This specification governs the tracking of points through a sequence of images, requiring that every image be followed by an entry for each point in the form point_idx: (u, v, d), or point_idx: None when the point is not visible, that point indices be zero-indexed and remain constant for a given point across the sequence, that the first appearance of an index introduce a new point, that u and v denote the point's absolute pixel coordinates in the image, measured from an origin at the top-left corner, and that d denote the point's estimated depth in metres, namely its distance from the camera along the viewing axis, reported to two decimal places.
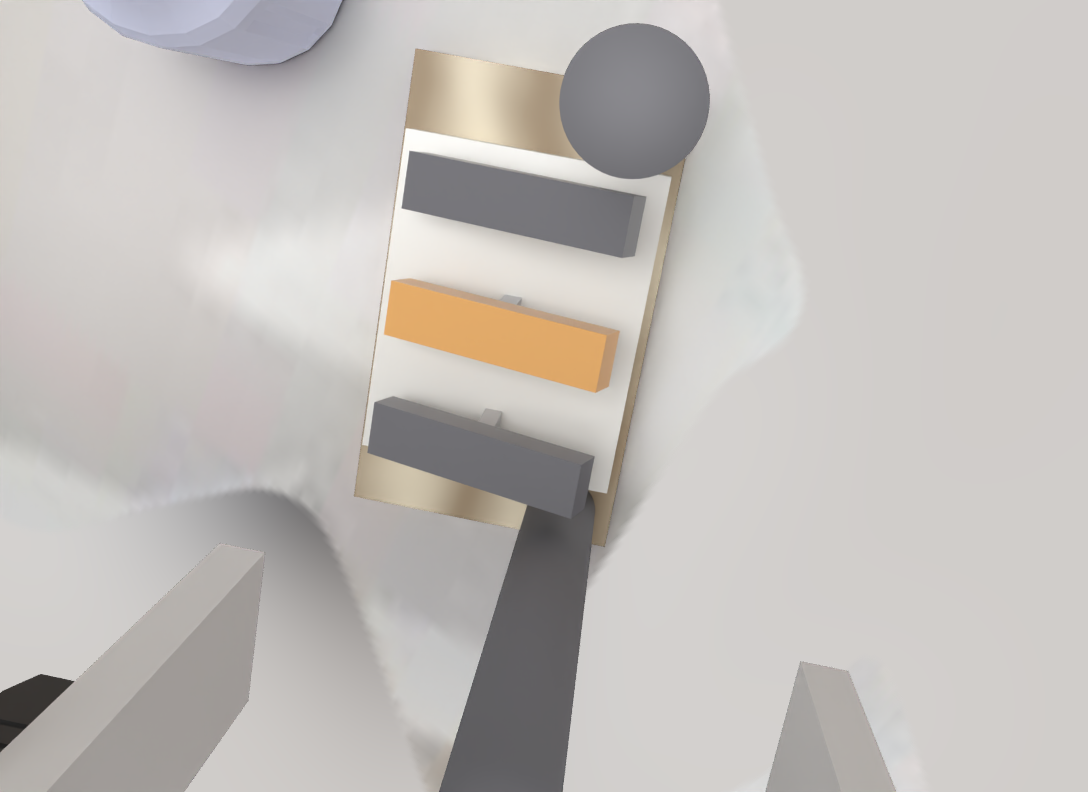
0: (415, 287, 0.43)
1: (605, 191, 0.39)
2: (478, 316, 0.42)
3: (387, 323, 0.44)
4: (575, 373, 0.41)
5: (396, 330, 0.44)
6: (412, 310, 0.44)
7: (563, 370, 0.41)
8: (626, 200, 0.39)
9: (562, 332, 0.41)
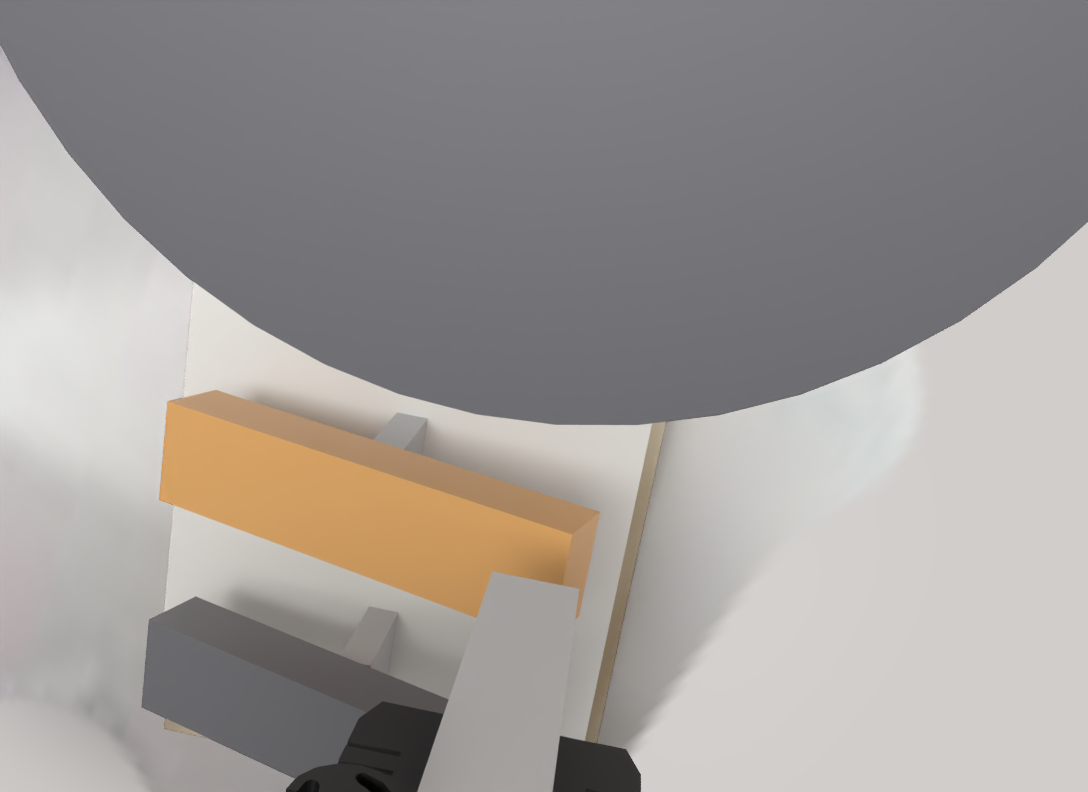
0: (209, 417, 0.23)
1: None
2: (324, 479, 0.22)
3: (164, 480, 0.23)
4: None
5: (180, 494, 0.23)
6: (206, 459, 0.23)
7: None
8: None
9: (483, 522, 0.20)
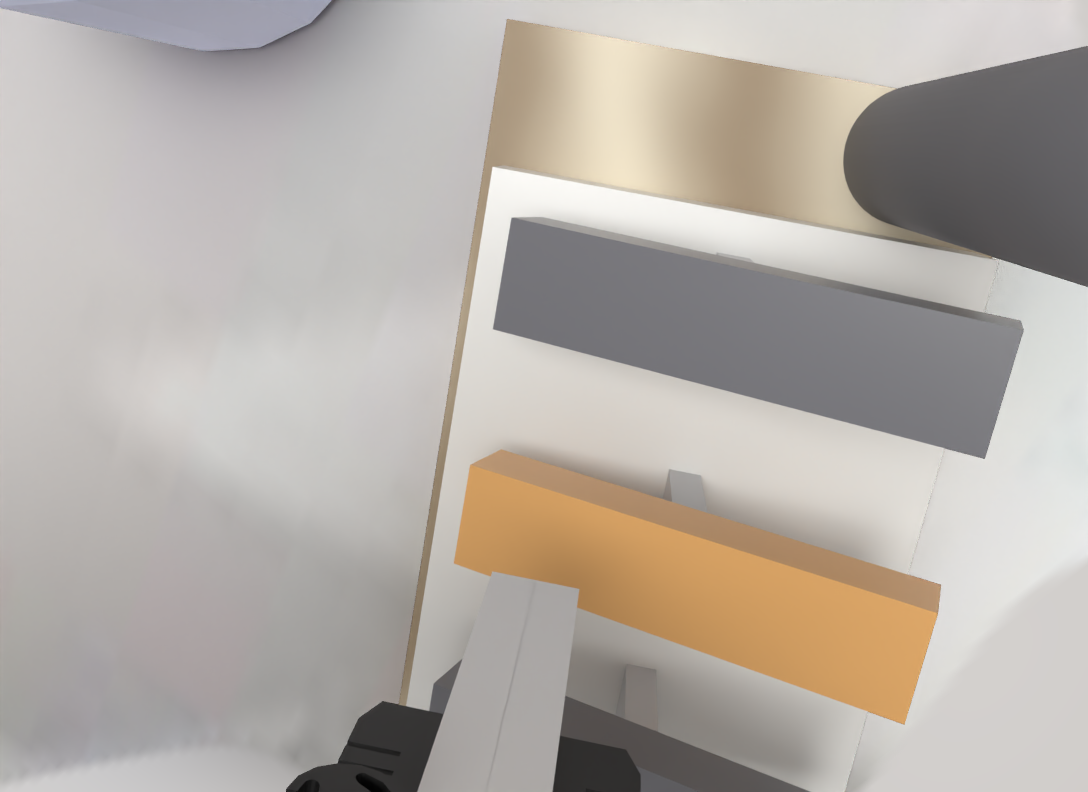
0: (518, 481, 0.22)
1: (952, 316, 0.18)
2: (648, 548, 0.21)
3: (461, 543, 0.23)
4: (859, 680, 0.20)
5: (478, 558, 0.23)
6: (511, 524, 0.22)
7: (832, 672, 0.20)
8: (1003, 338, 0.18)
9: (834, 597, 0.20)
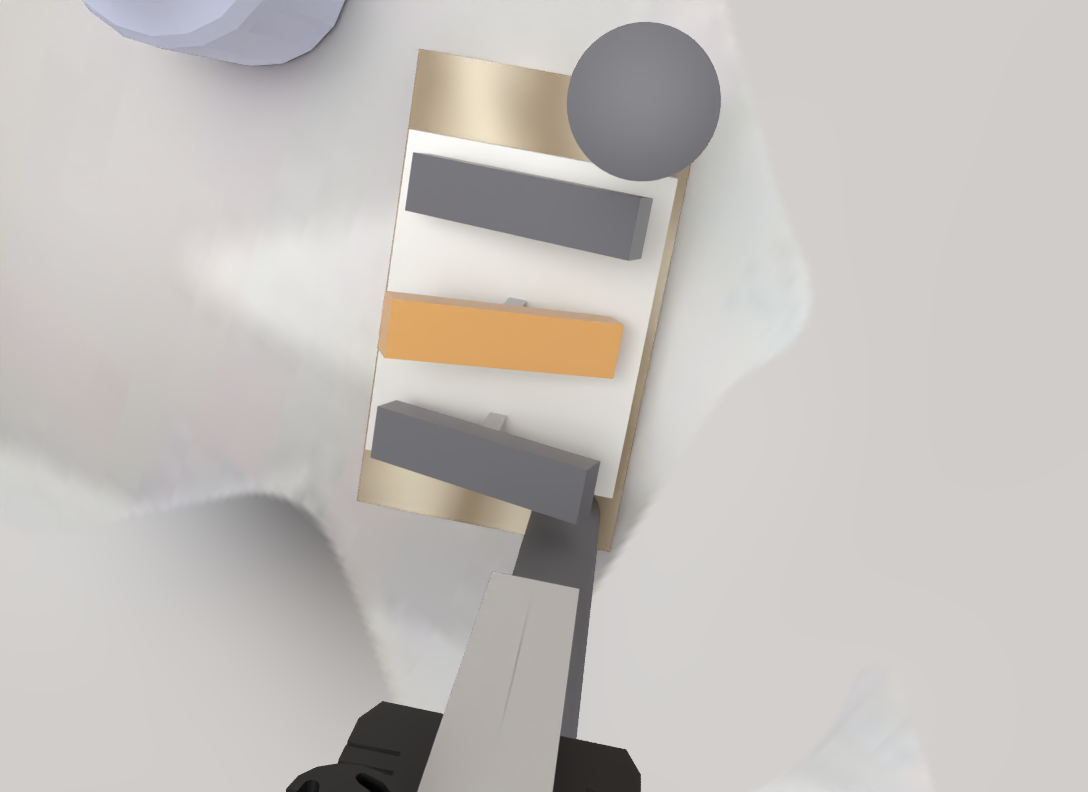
0: (422, 303, 0.40)
1: (611, 193, 0.39)
2: (495, 324, 0.41)
3: (388, 345, 0.40)
4: (594, 364, 0.43)
5: (400, 351, 0.40)
6: (419, 327, 0.40)
7: (583, 363, 0.43)
8: (632, 202, 0.39)
9: (582, 328, 0.43)
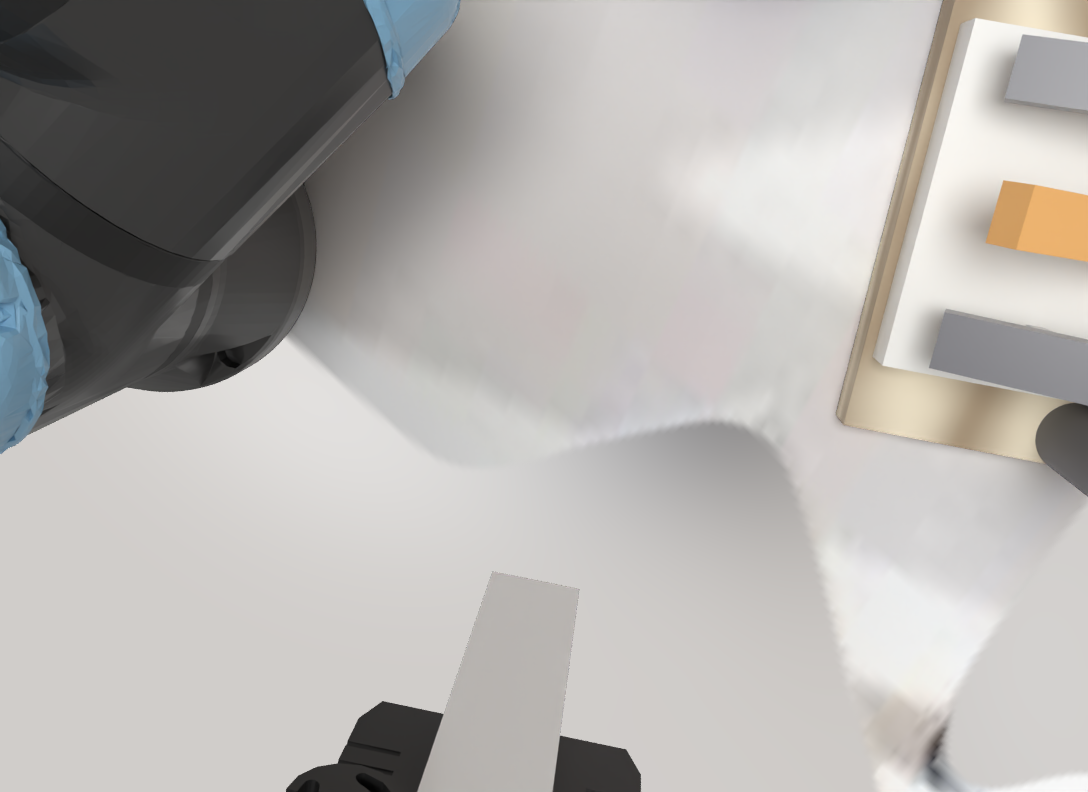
0: (1059, 190, 0.38)
1: None
2: None
3: (1021, 236, 0.38)
4: None
5: (1030, 243, 0.38)
6: (1051, 217, 0.38)
7: None
8: None
9: None
